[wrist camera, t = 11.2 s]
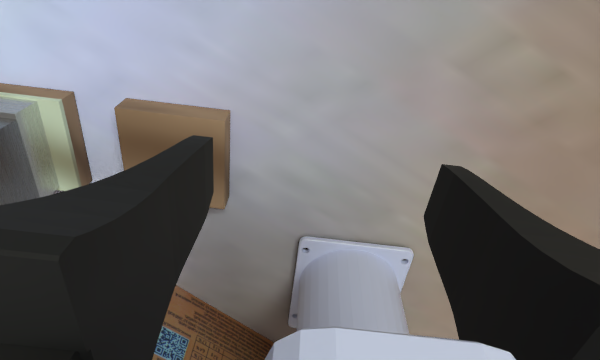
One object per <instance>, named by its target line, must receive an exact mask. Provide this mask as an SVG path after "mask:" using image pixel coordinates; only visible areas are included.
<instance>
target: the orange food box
mask: <svg viewBox="0 0 600 360" xmlns="http://www.w3.org/2000/svg"><path fill="white" fill-rule="evenodd" d="M273 344H274V342H272V341H270V340H269V339H267V338H265V337H263V336H262V335H260V334H258V333H257V332H255V331H253V330H251V329H250V328H248V327H246V326H245V325H243V324H241V323H240V322H238V321H236V320H234V319H233V318H231V317H229V316H228V315H226V314H224V313H222V312H221V311H219V310H217V309H216V308H214V307H212V306H210V305H209V304H207V303H205V302H204V301H202V300H200V299H198V298H197V297H195V296H193V295H192V294H190V293H188V292H186V291H185V290H183V289H181V288H180V287H178V286H175V289H174V292H173V295H172V298H171V301H170V304H169V307H168V310H167V313H166V316H165V319H164V322H163V325H162V329H161V332H160V335H159V338H158V342H157V345H156V348H155V352H154V355H153V359H152V360H265V358H266V356H267V354H268V353H269V351H270V349H271V348H272V346H273Z"/></svg>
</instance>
